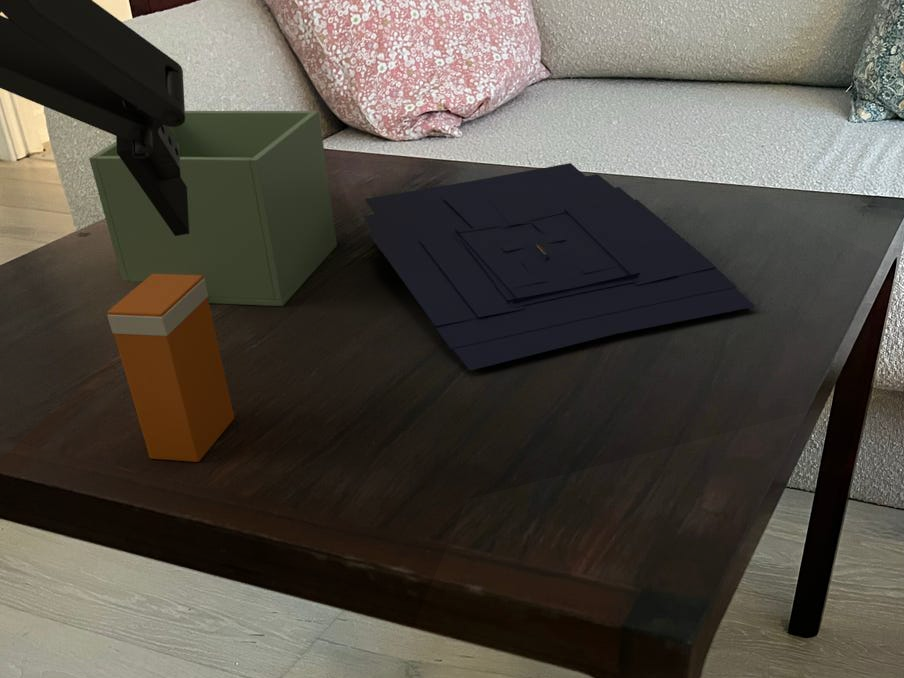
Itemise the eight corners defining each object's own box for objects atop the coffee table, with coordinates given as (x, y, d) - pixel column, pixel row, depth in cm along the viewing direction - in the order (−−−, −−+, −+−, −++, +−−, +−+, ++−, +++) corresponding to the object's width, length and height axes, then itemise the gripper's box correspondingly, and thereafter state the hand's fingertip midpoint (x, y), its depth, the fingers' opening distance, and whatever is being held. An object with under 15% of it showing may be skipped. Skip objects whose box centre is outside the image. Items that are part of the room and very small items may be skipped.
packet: (148, 459, 69) (105, 311, 62) (188, 414, 73) (151, 272, 67) (199, 463, 68) (161, 313, 61) (236, 418, 72) (204, 274, 66)
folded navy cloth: (586, 188, 102) (589, 150, 100) (752, 337, 83) (761, 294, 80) (347, 232, 96) (343, 192, 94) (466, 404, 77) (465, 360, 74)
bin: (127, 300, 90) (88, 157, 82) (196, 241, 100) (167, 110, 93) (282, 306, 87) (257, 159, 80) (337, 245, 98) (318, 110, 90)
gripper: (-645, 21, 34) (-172, 336, 55) (88, -131, 32) (293, 259, 52) (-618, -166, 36) (-168, 209, 56) (82, -324, 33) (283, 128, 54)
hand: (55, 233), depth 54 cm, fingers open, 13 cm apart
